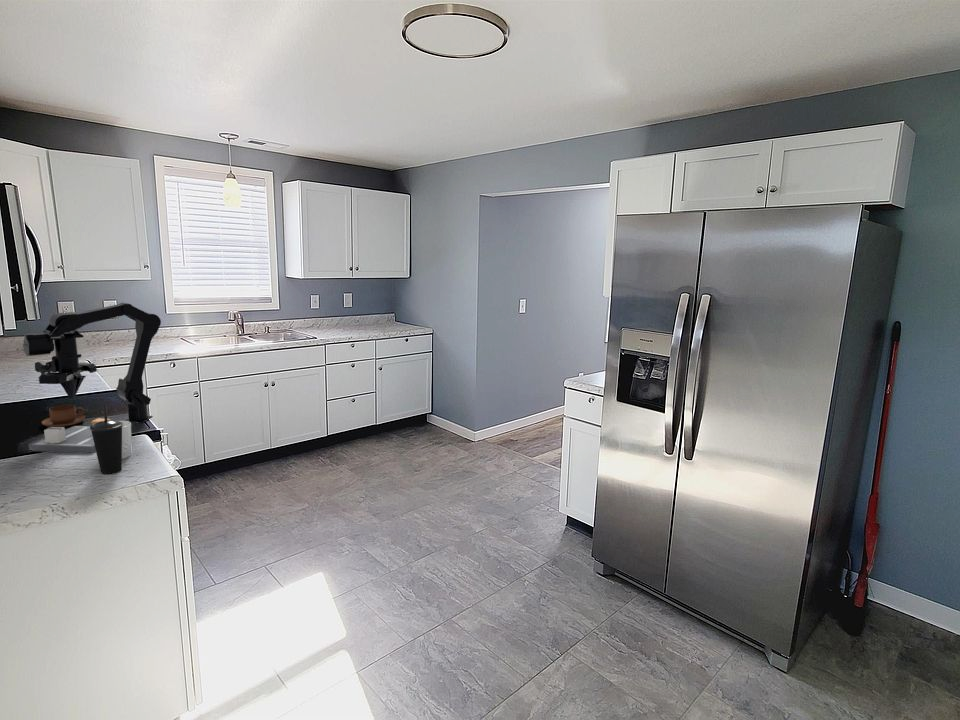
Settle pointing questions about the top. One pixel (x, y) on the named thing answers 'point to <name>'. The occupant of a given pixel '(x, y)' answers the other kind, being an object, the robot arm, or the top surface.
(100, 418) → the orange fader
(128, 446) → the white cup
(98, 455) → the drinking cup
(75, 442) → the grey square board
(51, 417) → the cup and saucer
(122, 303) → the robot arm
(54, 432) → the block
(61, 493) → the top surface
